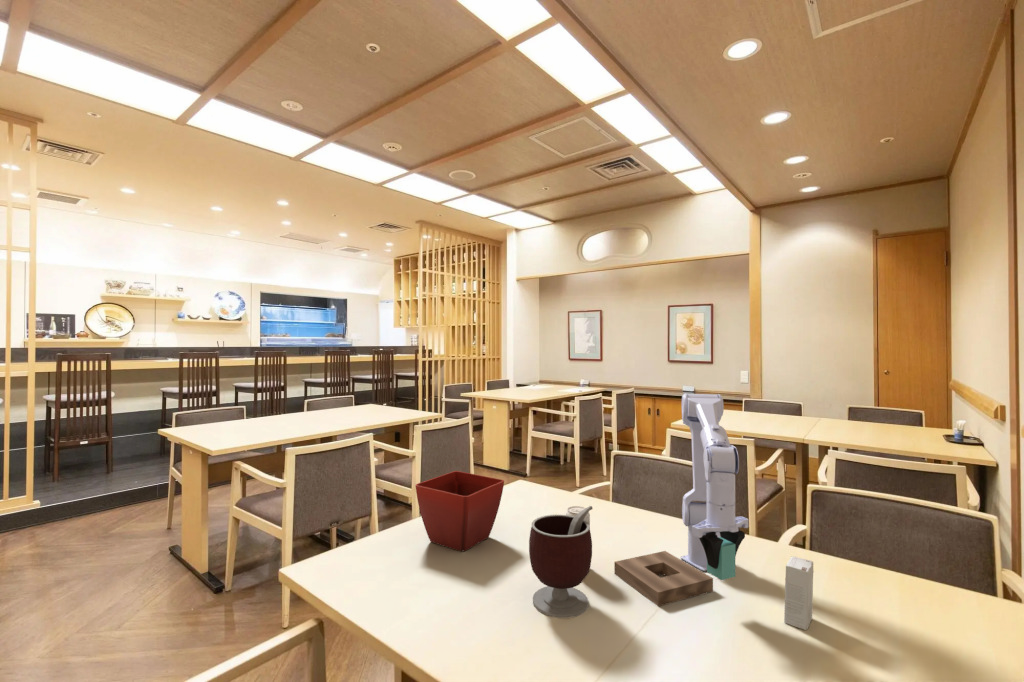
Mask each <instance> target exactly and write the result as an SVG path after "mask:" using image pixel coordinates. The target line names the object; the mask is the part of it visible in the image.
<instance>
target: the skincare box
mask: <svg viewBox="0 0 1024 682" xmlns="http://www.w3.org/2000/svg"><path fill="white" fill-rule="evenodd" d="M784 580H785V582H784V615H783V617H784V619H783V621H784V623H785V624H788V625H790V626H793V627H795V628H797V629H798V628H799V629H801V630H804V631H805V630H806V631H808V629H809V626H810V624H811V621H812V619H813V609H814V608H813V604H814V603H813V600H814V599H813V598H814V597H813V596H814V595H813V594H814V593H813V592H814V561H813V560H810V559H805V558H802V557H797V556H790V558H789V559H788V561H787V563H786V565H785V579H784Z"/></svg>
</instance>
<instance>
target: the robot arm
mask: <svg viewBox="0 0 1024 682" xmlns="http://www.w3.org/2000/svg"><path fill="white" fill-rule="evenodd" d="M724 406H725V405H724V398H723V396H722V395H721V394H719V393H716V394H715V393H714V394H712V393H711V394H710V393H709V394H708V393H707V394H706V393H702V394H701V393H687V392H685V393H683V394H682V395H681V420H682V423H683V425H684V426H687V427H689V431H690V435H691V436H690V437H691V458H692V459H691V462H692V463H691V465H692V487H693V488H692V489H691V490H689V491H687V492H686V493H685V494H684V495H683V496H682V505H681V515H682V516H681V517H682V522H683V525H684V526H685V527H688V528H687V537H688V538H687V542H688V543H687V550H688V551H687V554H686V555H683V556H680V560H682V561H684V562H685V563H687V564H689V565H691V566H692V567H694V568H696V569H698V570H699V571H701V572H705V571H706V572H707V562H708V565H709V566H711V567H713V568H714V569H717V568H718V565H719V553H720V548H721V545H722V543H723V541H724V540H723V539H720V538H718V537H722V538H724V539H726V540H728V541H730V542H732V543H734V544H735V558H736V557H737V554H738V550H739V547H740V545H741V544H742V542H743V540H745V537H746V532H744V531H742V530H740V529H741V528H744V529H749V518H747V517H744V516H742V515H741V516H736V475H738V473H739V470H740V458H739V457H740V456H739V453H738V448H737V447H736V446H734V445H733V444H731V443H730V439H729V437H728V434H727V431H726V429H725V428H724V427H723V426H721V425H720V422H721V419H722V417H723V415H724V408H725V407H724Z"/></svg>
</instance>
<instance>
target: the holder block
mask: <svg viewBox="0 0 1024 682" xmlns="http://www.w3.org/2000/svg"><path fill="white" fill-rule="evenodd" d="M613 569H614V571H613V572H614V575H616V576H617V577H618V578H619V579H621V580H622V581H623V582H625V584H627V585H629V586H630V587H631V588H633V589H634V590H636V591H637V592H638V593H640V594H641V595H642V596H644V597H645V598H646V599H648V600H649V601H650V602H652V603H653V604H655V605H656V607H660V606H664V605H668V604H671V603H675V602H679V601H682V600H686V599H689V598H692V597H693V598H694V597H696V596H697V597H698V596H699V595H700V596H701V595H704V594H708V593H712V592H714V577H711V576H710V575H708V574H706V573H704V571H702V570H700V569H698V568H696V567H695V566H693V565H691V564H689V563H688V562H686V561H684V560H682V559H681V558H679V557H677V556H675V555H673V554H671V553H670V552H668V551H666V550H663V551H659V552H658V551H657V552H654V553H650V554H645V555H640V556H633V557H631V558H626V559H621V560H617V561H614V568H613ZM660 576H663V577H660Z"/></svg>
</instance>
